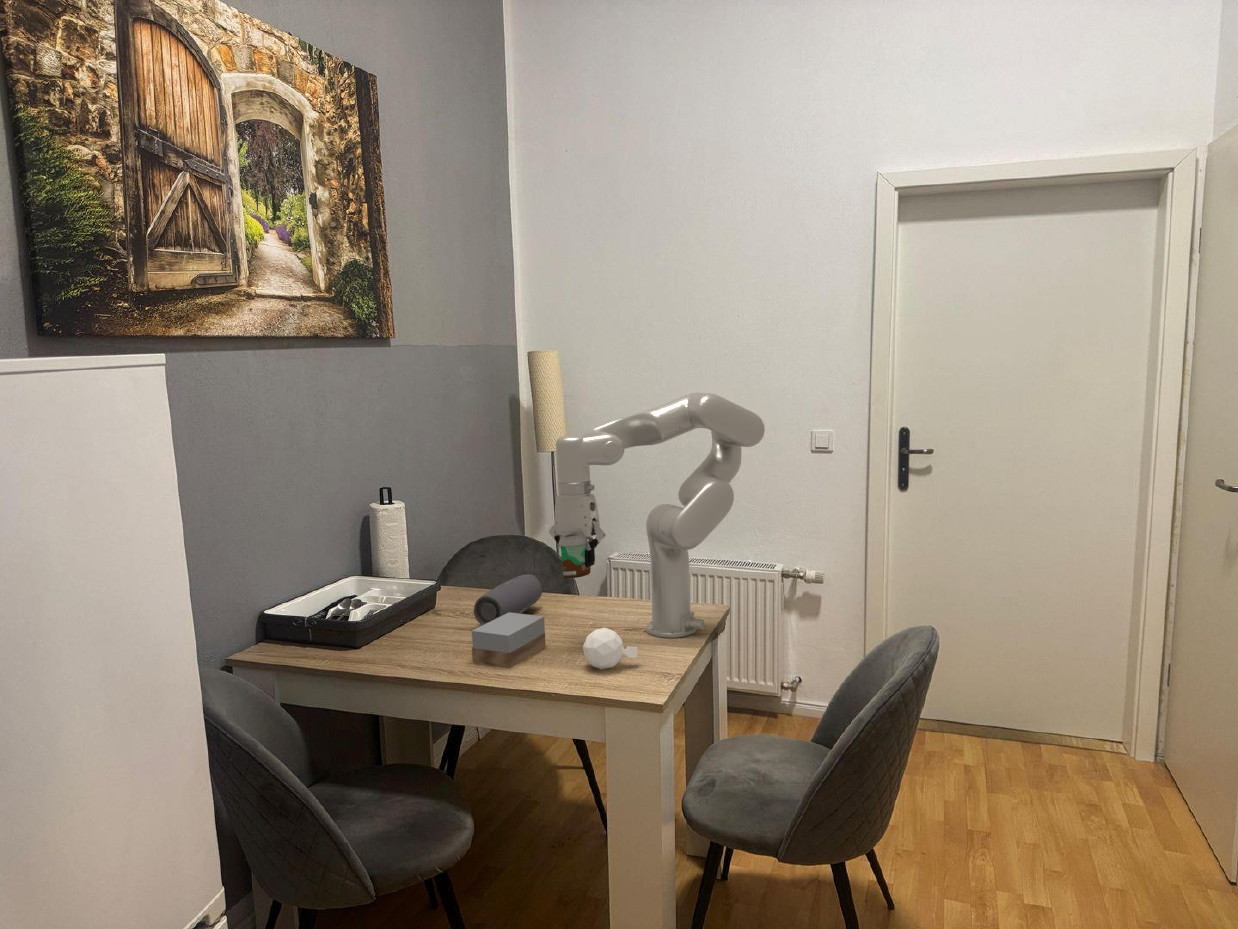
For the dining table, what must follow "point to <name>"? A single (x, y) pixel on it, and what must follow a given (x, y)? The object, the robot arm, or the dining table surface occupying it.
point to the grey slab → (508, 632)
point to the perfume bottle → (606, 649)
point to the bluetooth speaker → (508, 598)
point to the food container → (574, 556)
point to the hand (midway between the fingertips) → (578, 563)
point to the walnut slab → (509, 654)
